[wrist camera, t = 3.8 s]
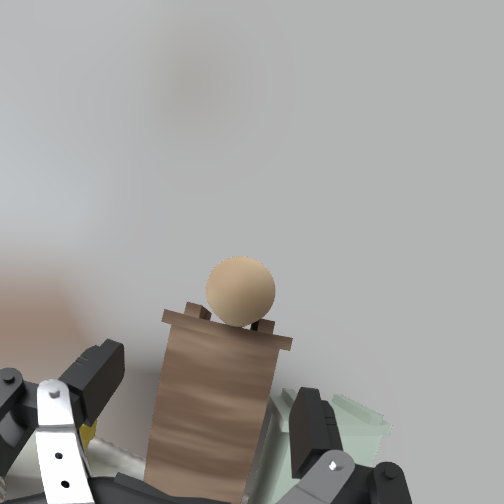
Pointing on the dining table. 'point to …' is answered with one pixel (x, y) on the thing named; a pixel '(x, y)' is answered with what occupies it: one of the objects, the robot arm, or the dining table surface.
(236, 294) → the tan roll
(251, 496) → the pale green lidded tub
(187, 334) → the walnut tub
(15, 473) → the dining table surface
